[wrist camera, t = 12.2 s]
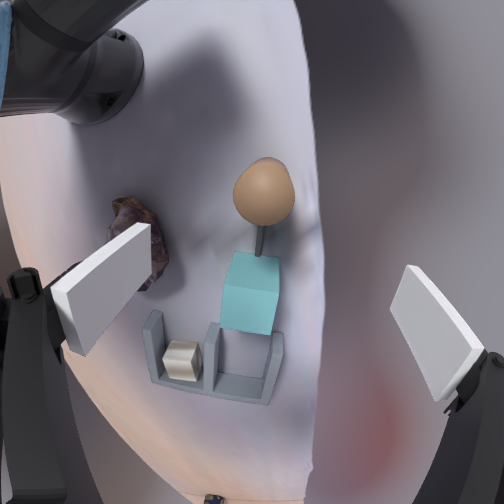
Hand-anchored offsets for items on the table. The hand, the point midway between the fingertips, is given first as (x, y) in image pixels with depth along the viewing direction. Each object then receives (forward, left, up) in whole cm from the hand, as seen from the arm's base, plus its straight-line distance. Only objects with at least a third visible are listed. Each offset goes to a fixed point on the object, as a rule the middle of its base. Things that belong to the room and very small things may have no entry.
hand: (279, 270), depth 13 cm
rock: (+9, -17, -22) cm, 29 cm away
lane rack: (+28, -6, -22) cm, 36 cm away
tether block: (+6, -1, -22) cm, 23 cm away
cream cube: (+30, -11, -22) cm, 39 cm away
